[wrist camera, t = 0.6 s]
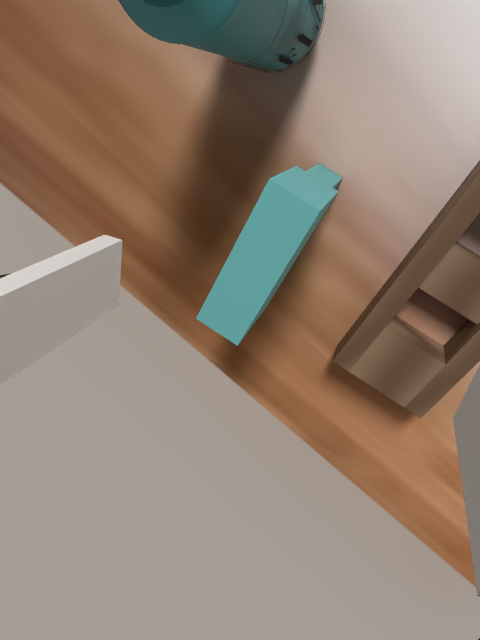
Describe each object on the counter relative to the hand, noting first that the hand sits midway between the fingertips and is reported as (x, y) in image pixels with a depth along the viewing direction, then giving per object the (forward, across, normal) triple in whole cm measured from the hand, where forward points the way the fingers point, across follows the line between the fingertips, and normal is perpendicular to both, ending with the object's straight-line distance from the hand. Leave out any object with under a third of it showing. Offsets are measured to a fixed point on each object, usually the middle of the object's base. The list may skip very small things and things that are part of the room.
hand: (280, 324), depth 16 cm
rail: (+20, +9, -2) cm, 22 cm away
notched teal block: (+20, -3, -2) cm, 21 cm away
